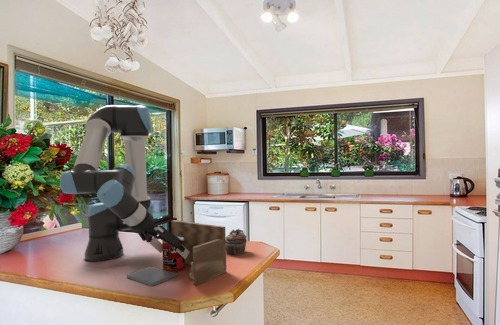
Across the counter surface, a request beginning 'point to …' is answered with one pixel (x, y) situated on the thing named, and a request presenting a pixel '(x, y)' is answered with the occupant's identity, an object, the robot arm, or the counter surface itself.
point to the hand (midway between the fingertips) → (174, 252)
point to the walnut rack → (203, 248)
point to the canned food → (172, 258)
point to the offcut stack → (191, 271)
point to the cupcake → (236, 242)
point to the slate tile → (151, 276)
